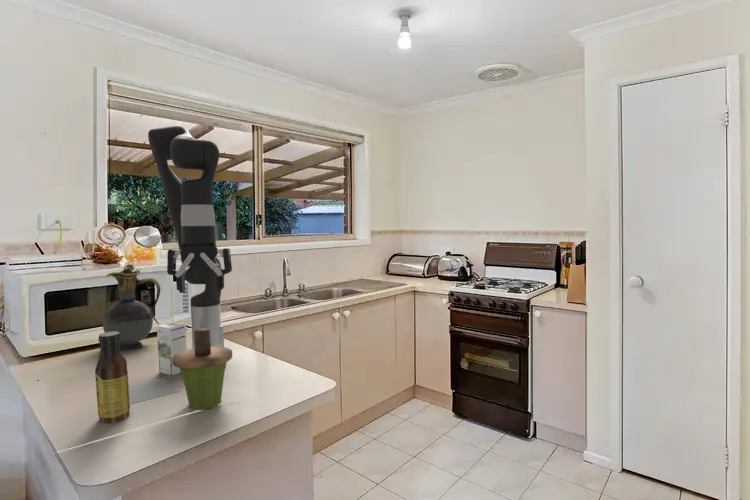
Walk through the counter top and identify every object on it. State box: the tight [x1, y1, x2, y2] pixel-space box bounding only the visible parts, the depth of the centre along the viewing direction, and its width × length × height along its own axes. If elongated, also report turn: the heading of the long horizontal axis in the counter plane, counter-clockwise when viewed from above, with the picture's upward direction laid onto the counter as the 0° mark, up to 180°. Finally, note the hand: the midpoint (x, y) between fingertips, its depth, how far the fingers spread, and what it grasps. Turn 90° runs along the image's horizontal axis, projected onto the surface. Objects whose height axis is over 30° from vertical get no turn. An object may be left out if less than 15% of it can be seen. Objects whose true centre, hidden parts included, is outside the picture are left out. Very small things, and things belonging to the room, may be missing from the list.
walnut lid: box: [172, 328, 233, 369], centre depth 105 cm, size 14×14×7 cm
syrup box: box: [156, 322, 187, 376], centre depth 129 cm, size 6×6×14 cm
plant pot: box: [180, 362, 227, 411], centre depth 105 cm, size 12×12×11 cm
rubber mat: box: [129, 377, 180, 405], centre depth 114 cm, size 14×14×1 cm
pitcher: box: [102, 263, 161, 351], centre depth 157 cm, size 11×19×30 cm, turn 132°
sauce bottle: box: [94, 331, 131, 424], centre depth 98 cm, size 6×6×20 cm
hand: (201, 291), depth 104 cm, fingers open, 8 cm apart
